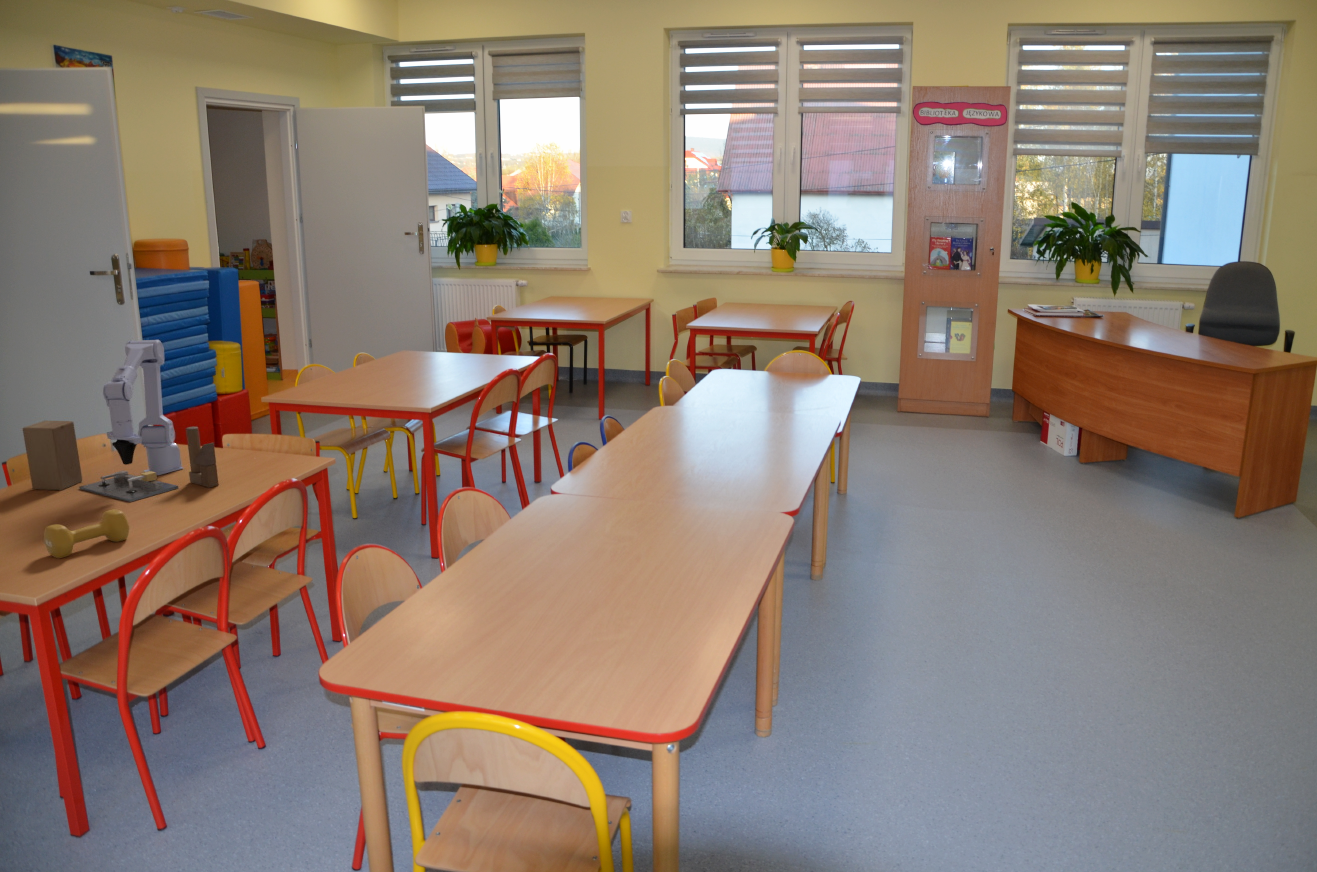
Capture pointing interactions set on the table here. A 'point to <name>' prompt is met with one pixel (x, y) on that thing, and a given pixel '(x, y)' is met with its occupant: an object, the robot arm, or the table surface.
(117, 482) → the hole plate
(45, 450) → the wooden block
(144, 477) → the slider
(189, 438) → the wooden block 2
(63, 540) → the dumbbell
